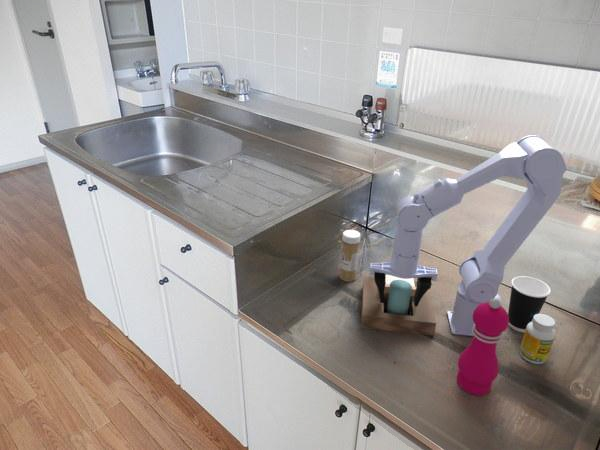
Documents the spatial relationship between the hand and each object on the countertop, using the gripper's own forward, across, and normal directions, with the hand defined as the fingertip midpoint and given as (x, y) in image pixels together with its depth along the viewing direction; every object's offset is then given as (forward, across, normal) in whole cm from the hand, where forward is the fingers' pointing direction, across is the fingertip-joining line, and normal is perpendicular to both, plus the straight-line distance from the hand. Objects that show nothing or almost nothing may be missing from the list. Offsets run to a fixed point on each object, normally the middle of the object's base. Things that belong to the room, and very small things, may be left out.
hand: (398, 302), depth 103 cm
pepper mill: (+5, -14, +18) cm, 23 cm away
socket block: (+4, 0, -3) cm, 5 cm away
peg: (+4, 0, 0) cm, 4 cm away
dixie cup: (+5, -28, -2) cm, 28 cm away
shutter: (+1, 0, -8) cm, 8 cm away
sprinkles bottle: (+5, +12, -15) cm, 20 cm away
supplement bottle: (+5, -28, +8) cm, 29 cm away
